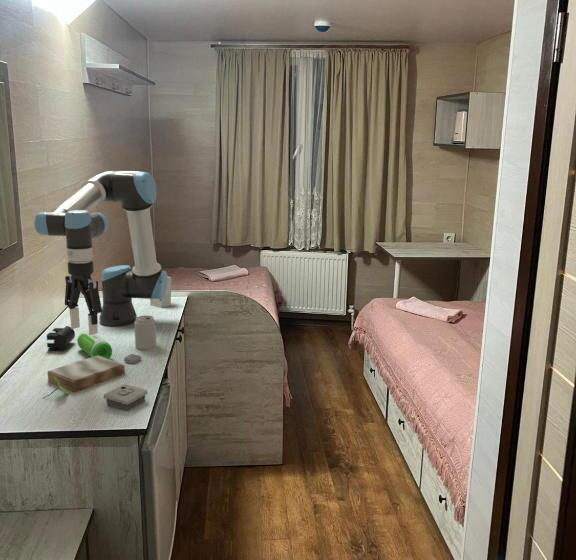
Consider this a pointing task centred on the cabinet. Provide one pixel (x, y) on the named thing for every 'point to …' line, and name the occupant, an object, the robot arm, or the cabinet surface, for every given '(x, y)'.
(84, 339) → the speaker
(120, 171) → the robot arm
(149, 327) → the can
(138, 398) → the electrical switch
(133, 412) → the cabinet surface
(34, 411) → the cabinet surface
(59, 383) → the seedling
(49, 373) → the stand
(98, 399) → the cabinet surface
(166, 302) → the skincare box
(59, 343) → the end cap
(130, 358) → the grey square block
